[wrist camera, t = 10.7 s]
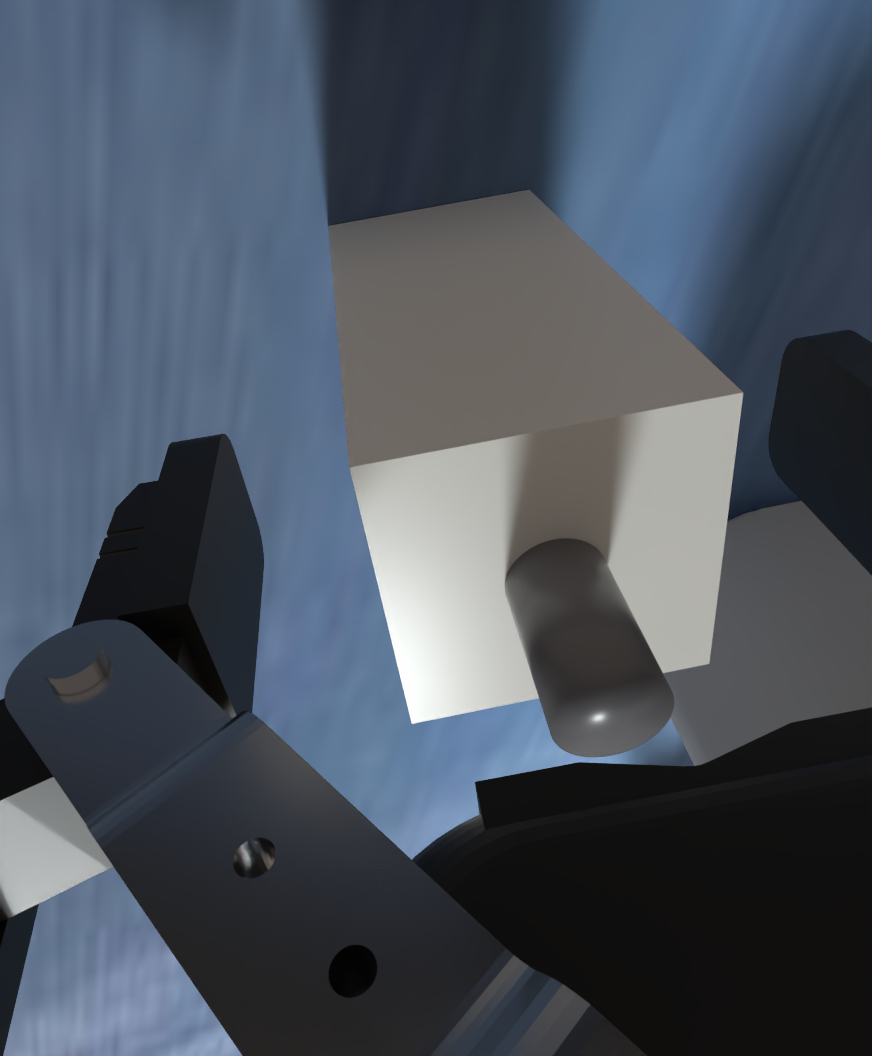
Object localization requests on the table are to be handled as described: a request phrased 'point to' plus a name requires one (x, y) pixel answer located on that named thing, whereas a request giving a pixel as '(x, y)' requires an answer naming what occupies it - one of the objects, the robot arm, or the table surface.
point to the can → (778, 635)
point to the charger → (530, 468)
